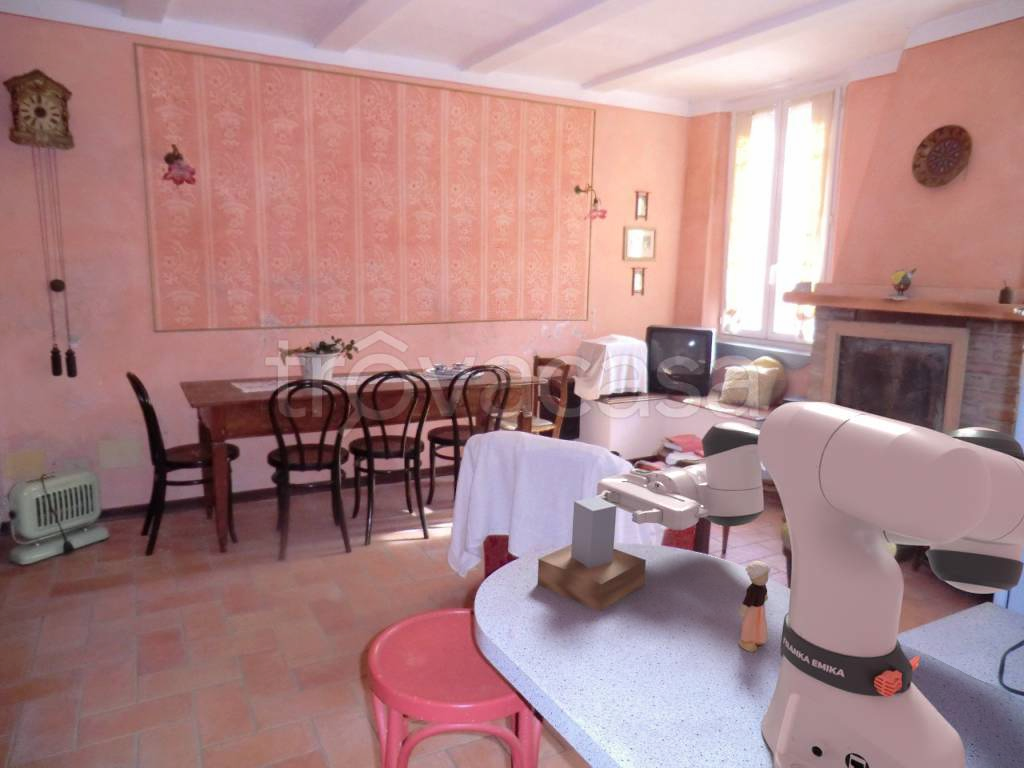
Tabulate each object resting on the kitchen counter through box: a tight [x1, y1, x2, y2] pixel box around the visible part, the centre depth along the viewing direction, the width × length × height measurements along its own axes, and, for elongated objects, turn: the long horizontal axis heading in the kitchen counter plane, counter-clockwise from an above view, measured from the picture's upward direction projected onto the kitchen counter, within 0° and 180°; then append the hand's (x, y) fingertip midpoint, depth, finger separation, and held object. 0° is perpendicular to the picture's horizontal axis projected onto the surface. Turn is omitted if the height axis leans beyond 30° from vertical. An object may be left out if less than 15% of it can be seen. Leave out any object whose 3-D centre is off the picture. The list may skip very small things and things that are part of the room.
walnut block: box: [537, 543, 647, 612], centre depth 117 cm, size 13×13×5 cm
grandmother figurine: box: [737, 560, 771, 653], centre depth 100 cm, size 8×4×13 cm, turn 147°
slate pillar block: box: [571, 496, 617, 568], centre depth 116 cm, size 5×5×10 cm
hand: (615, 510), depth 119 cm, fingers open, 8 cm apart
